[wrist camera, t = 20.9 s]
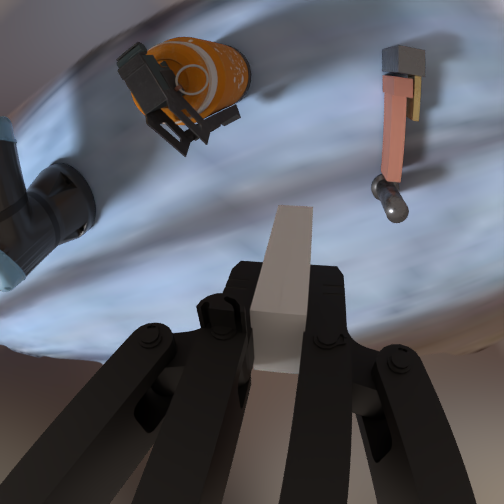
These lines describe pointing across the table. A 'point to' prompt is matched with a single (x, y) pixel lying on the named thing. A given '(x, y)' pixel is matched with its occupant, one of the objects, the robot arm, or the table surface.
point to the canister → (185, 86)
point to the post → (390, 199)
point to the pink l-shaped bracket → (394, 125)
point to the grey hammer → (407, 72)
